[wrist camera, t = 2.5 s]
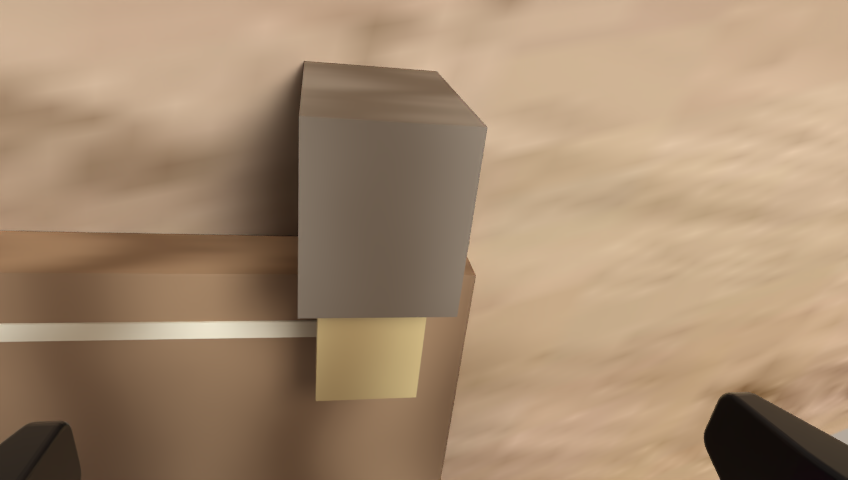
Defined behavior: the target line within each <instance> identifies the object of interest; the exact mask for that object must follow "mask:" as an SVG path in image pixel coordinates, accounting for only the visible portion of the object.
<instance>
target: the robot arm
mask: <svg viewBox="0 0 848 480" xmlns="http://www.w3.org/2000/svg"><path fill="white" fill-rule="evenodd" d="M704 443H705V447H706V450H707V452H708V454H709V456H710V459H711V461H712V463H713V465H714V467H715V469H716V472H717V474H718V476H719V478H720V480H848V445H847V444H845V443H843V442H841V441H840V440H837V439H836V438H834V437H832V436H830V435H829V434H827V433H825V432H823V431H821V430H820V429H818V428H816V427H814V426H812V425H810V424H809V423H807V422H805V421H803V420H801V419H800V418H798V417H796V416H794V415H792V414H790V413H789V412H787V411H785V410H783V409H781V408H779V407H778V406H776V405H774V404H772V403H770V402H769V401H767V400H765V399H763V398H761V397H759V396H758V395H756V394H753V393H750V392H731V393H725V394H723V395H722V396H721V397H720V398H719V400H718V402H717V404H716V406H715V409H714V411H713V413H712V415H711V418H710V420H709V422H708V424H707V426H706V429H705V432H704ZM0 480H81V465H80V461H79V457H78V453H77V449H76V444H75V440H74V436H73V432H72V429H71V426H70V425H69V424H68V423H67V422H66V421H38V422H31V423H28V424H26V425H24V426H23V427H21V428H20V429H19V430H17V431H16V432H15V433H13V434H12V435H11V436H10V437H8V438H7V439H6V440H4V441H3V442H2V443H0Z"/></svg>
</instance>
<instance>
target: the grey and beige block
mask: <svg viewBox="0 0 848 480" xmlns="http://www.w3.org/2000/svg"><path fill="white" fill-rule="evenodd" d="M486 133H487V126H486V125H485V124H484V123H483V122H482V121H481V120H480V119H479V117H478V116H477V115H476V114H475V113H474V112H473V111H472V110H471V109H470V108H469V106H468V105H467V104H466V103H465V102H464V101H463V100H462V99H461V98H460V97H459V95H458V94H457V93H456V92H455V91H454V90H453V89H452V88H451V87H450V86H449V84H448V83H447V82H446V81H445V80H444V79H443V78H442V77H441V76H440V75H439V73H438V72H437V71H425V70H413V69H400V68H387V67H374V66H361V65H348V64H335V63H322V62H309V61H304V71H303V81H302V91H301V101H300V111H299V194H298V319H300V318H317V336H316V401H331V400H358V399H385V398H412V397H416V394H417V386H418V379H419V371H420V363H421V356H422V348H423V340H424V333H425V325H426V317H457V314H458V308H459V302H460V295H461V289H462V283H463V277H464V270H465V264H466V258H467V252H468V245H469V239H470V233H471V227H472V220H473V214H474V208H475V202H476V195H477V189H478V183H479V177H480V170H481V164H482V158H483V152H484V145H485V139H486Z"/></svg>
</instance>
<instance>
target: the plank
mask: <svg viewBox="0 0 848 480" xmlns="http://www.w3.org/2000/svg"><path fill="white" fill-rule="evenodd" d="M475 277H476V275H475V273H474V271H473V269H472V266H471V264H470V262H469V260H468V258H466V264H465V270H464V277H463V283H462V289H461V295H460V302H459V308H458V314H457V317H426V325H425V333H424V340H423V348H422V356H421V363H420V371H419V379H418V386H417V394H416V397H412V398H385V399H358V400H331V401H316V336H317V318H300V319H298V236H249V235H195V234H140V233H85V232H31V231H0V443H2V442H3V441H4V440H6V439H7V438H8V437H10V436H11V435H12V434H13V433H15V432H16V431H17V430H19V429H20V428H21V427H23V426H24V425H26V424H28V423H31V422H38V421H66V422H67V423H68V424H69V425H70V426H71V429H72V432H73V436H74V440H75V444H76V449H77V453H78V457H79V461H80V465H81V480H441V474H442V468H443V463H444V457H445V451H446V445H447V439H448V434H449V428H450V422H451V416H452V410H453V405H454V399H455V393H456V387H457V381H458V375H459V370H460V364H461V358H462V352H463V346H464V341H465V335H466V329H467V323H468V317H469V312H470V306H471V300H472V294H473V288H474V283H475Z"/></svg>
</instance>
